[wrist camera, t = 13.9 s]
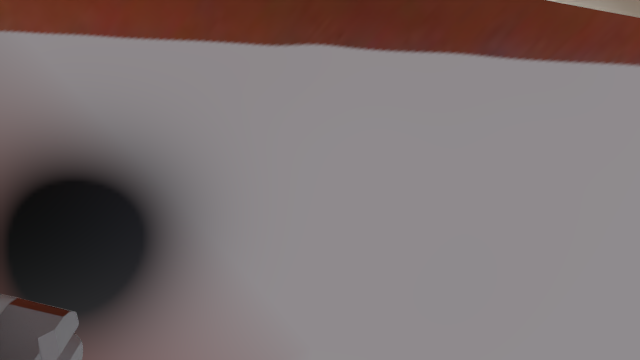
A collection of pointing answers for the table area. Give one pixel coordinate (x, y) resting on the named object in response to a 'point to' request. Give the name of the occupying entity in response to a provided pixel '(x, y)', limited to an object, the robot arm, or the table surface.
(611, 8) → the birch lid
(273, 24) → the table surface
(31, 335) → the robot arm
